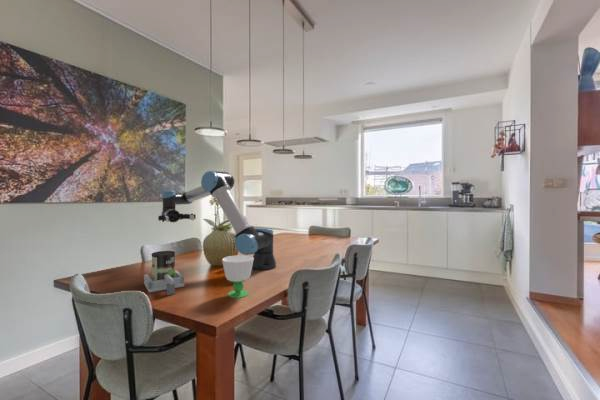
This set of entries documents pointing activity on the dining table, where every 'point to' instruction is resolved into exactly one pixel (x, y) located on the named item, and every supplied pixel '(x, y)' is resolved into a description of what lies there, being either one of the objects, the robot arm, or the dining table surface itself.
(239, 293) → the cup
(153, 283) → the tray
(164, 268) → the coffee can
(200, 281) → the dining table surface
